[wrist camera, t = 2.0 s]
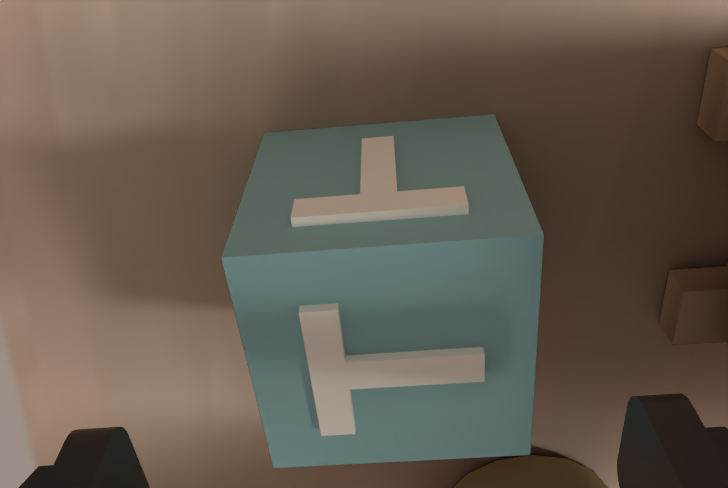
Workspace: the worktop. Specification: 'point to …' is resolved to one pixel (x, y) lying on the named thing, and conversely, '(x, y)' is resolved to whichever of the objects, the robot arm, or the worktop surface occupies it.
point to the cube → (388, 292)
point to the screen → (710, 284)
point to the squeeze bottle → (532, 474)
